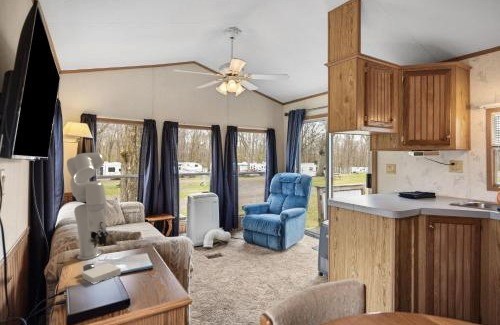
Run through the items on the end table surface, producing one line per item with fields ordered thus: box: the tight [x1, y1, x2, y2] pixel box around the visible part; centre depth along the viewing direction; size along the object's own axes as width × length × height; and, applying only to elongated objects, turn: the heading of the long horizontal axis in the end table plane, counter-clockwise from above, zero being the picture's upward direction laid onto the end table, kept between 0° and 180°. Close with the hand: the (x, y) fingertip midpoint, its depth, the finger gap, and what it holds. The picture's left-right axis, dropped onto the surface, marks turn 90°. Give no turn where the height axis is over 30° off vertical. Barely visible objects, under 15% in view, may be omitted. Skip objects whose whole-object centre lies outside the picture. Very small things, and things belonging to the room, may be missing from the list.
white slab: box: [81, 263, 122, 283], centre depth 147 cm, size 13×13×3 cm
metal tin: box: [82, 263, 95, 272], centre depth 152 cm, size 5×5×4 cm
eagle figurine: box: [88, 231, 109, 248], centre depth 148 cm, size 8×7×9 cm
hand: (98, 242), depth 146 cm, fingers closed on eagle figurine, 8 cm apart
